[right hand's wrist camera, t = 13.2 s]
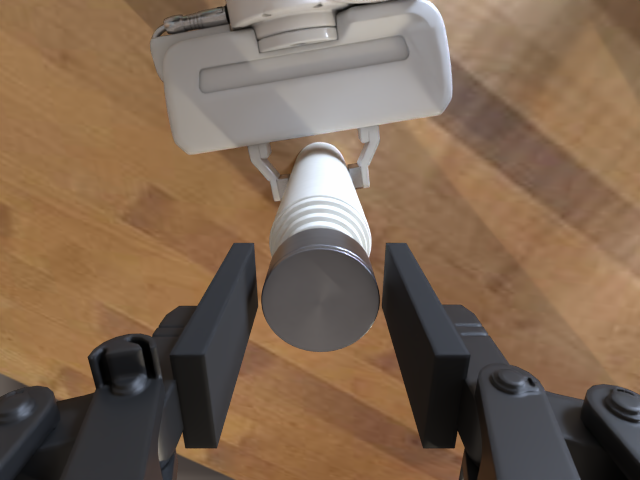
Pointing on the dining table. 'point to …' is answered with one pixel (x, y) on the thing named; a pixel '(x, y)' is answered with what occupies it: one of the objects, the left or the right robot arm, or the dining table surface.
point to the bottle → (320, 198)
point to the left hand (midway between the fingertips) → (322, 192)
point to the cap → (320, 291)
